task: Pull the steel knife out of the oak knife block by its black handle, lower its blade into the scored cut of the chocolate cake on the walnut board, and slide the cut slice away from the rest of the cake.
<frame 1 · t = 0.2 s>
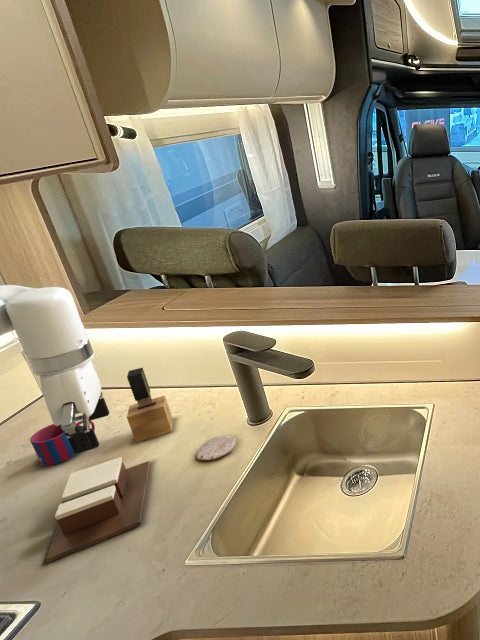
hand: (93, 432, 78), 20 cm above the worktop, tool pointing down, fingers open, 9 cm apart
cake slice: (94, 518, 82), point 1 cm above the worktop, touching cake board
knife: (154, 428, 105), point 1 cm above the worktop, touching knife block
cake board: (105, 507, 86), on the worktop
cake: (100, 494, 87), point 1 cm above the worktop, touching cake board
knife block: (155, 431, 106), on the worktop
mug: (71, 451, 99), on the worktop
flatbread: (217, 449, 100), on the worktop
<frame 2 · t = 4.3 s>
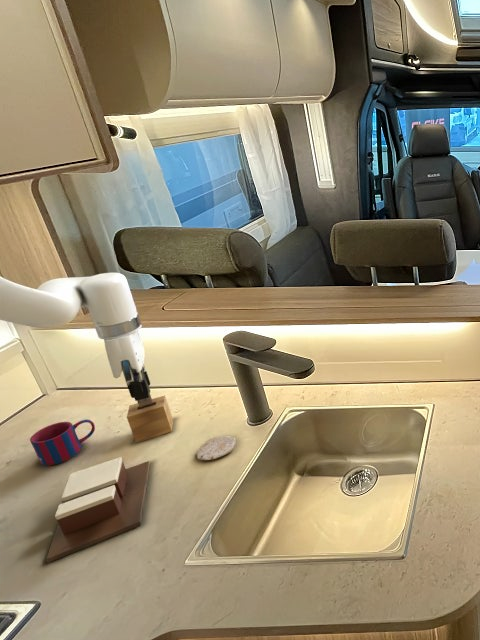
hand: (141, 390, 101), 13 cm above the worktop, tool pointing down, fingers closed on knife, 3 cm apart
knife: (154, 428, 105), point 1 cm above the worktop, touching gripper, knife block
everything else where it was.
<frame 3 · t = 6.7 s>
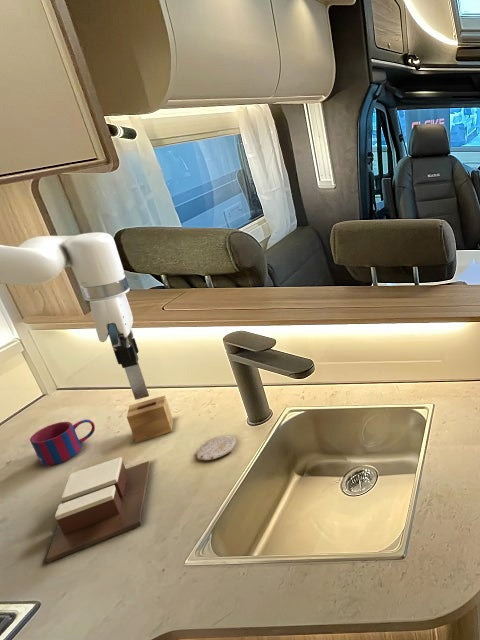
hand: (128, 357, 98), 22 cm above the worktop, tool pointing down, fingers closed on knife, 3 cm apart
knife: (142, 397, 102), point 11 cm above the worktop, touching gripper
everything else where it was.
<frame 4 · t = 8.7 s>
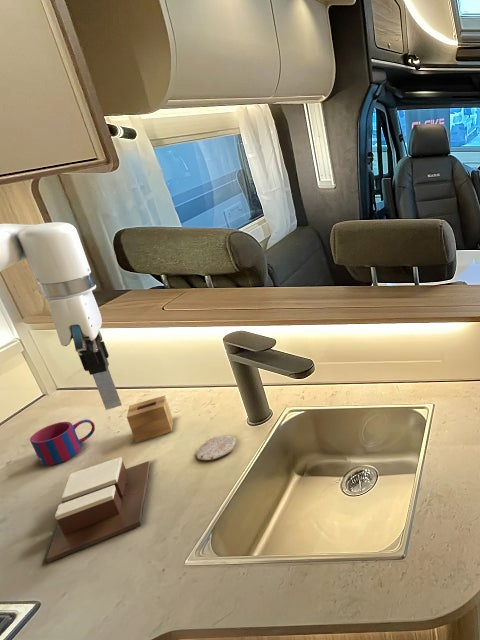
hand: (97, 363, 88), 27 cm above the worktop, tool pointing down, fingers closed on knife, 3 cm apart
knife: (114, 407, 92), point 15 cm above the worktop, touching gripper
everything else where it was.
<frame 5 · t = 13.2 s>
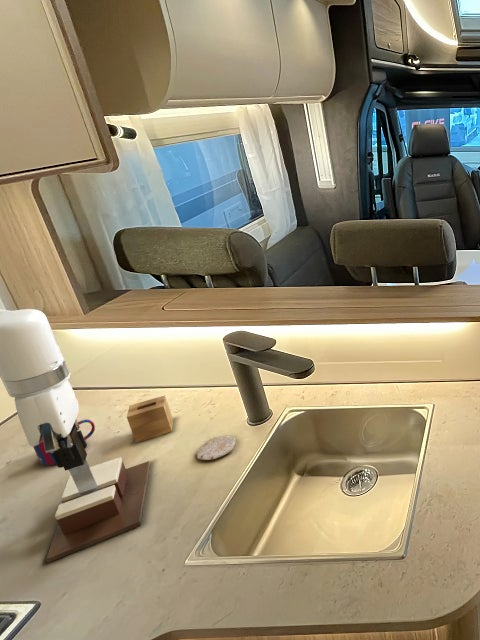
hand: (73, 456, 79), 15 cm above the worktop, tool pointing down, fingers closed on knife, 3 cm apart
knife: (93, 500, 83), point 4 cm above the worktop, touching gripper
everything else where it was.
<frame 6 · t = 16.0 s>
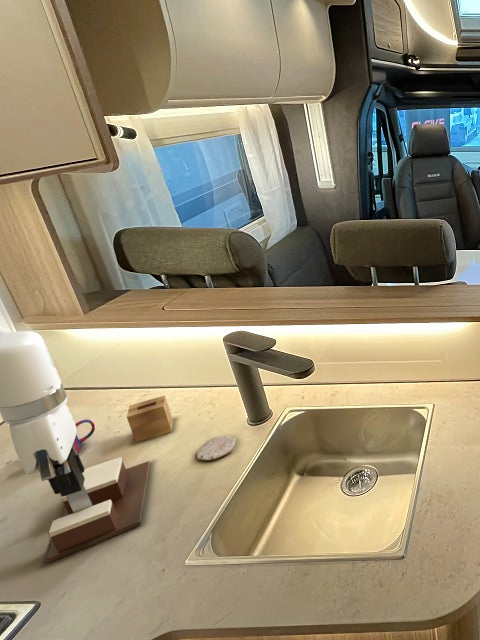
hand: (70, 481, 76), 13 cm above the worktop, tool pointing down, fingers closed on knife, 3 cm apart
cake slice: (89, 534, 79), point 1 cm above the worktop, touching cake board, knife
knife: (91, 525, 80), point 1 cm above the worktop, touching cake slice, gripper
everything else where it was.
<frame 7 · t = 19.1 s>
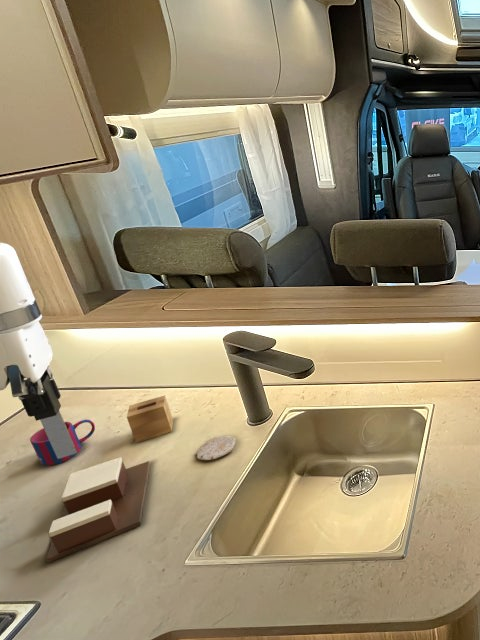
hand: (45, 406, 74), 28 cm above the worktop, tool pointing down, fingers closed on knife, 3 cm apart
cake slice: (89, 534, 79), point 1 cm above the worktop, touching cake board
knife: (67, 455, 78), point 16 cm above the worktop, touching gripper
everything else where it was.
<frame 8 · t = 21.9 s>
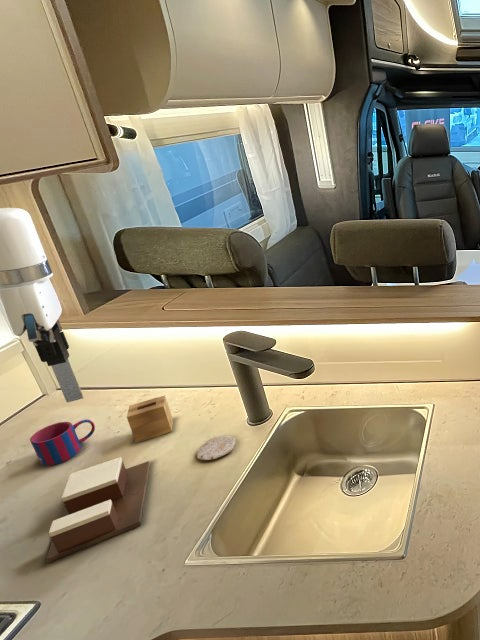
hand: (55, 354, 85), 30 cm above the worktop, tool pointing down, fingers closed on knife, 3 cm apart
knife: (75, 400, 89), point 19 cm above the worktop, touching gripper
everything else where it was.
at the end: knife moved 20.9 cm from its start; cake slice 0.2 cm from the target spot on the worktop beside the cake, resting on cake board; cake moved 0.0 cm from its start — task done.
